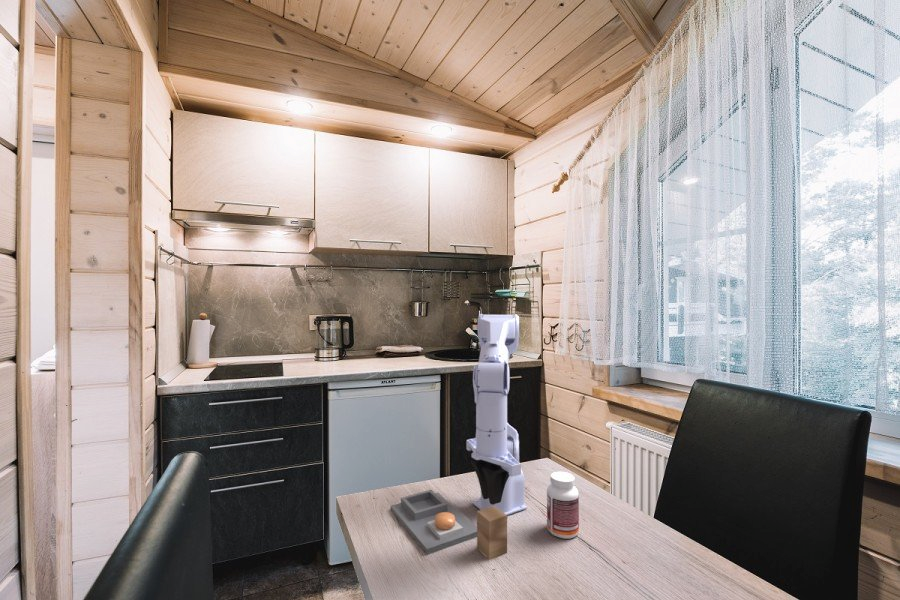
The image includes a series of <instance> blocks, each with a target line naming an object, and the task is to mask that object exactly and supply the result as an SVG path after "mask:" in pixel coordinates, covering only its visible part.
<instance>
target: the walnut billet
mask: <svg viewBox="0 0 900 600" xmlns="http://www.w3.org/2000/svg"><path fill="white" fill-rule="evenodd" d="M476 526H477V537H476V548H477V550H478V551H479V552H480V553H481V554H482V555H483V556H485V558H487V559H488V560H489V561H491V560H493V559H496V558H498V557H500V556H503V555H506V554H508V515H506V514H505V513H503V512H502V511H501V510H499V509H498V508H497V507H495V506H492V507H489V508H485V509H482V510H480V509H479V510H477V511H476Z"/></svg>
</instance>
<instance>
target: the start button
mask: <svg viewBox="0 0 900 600" xmlns="http://www.w3.org/2000/svg"><path fill="white" fill-rule="evenodd" d="M454 525H455V516H454V515H453V514H452V513H448V512H442V513H439V514H437V515H436V516H435V526H436V527H438V528H440V529H450V528H452V527H453V526H454Z"/></svg>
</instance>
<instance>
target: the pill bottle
mask: <svg viewBox="0 0 900 600" xmlns="http://www.w3.org/2000/svg"><path fill="white" fill-rule="evenodd" d="M575 479H576V477H575V476H574V475H573V474H572V473H569V472H566V471H554V472H552V473H551V474H550V484H549V485H548V486H547V488H546V518H547V519H546V527H547V531H548V532H549V533H550V534H551V535H552V536H555V537H557V538H559V539H565V540H568V539H573V538H575V537H577V536H578V534H579V533H580V523H579V521H580V519H579V517H580V514H579V511H580V509H579V508H580V507H579V506H580V503H579V502H580V501H579V498H580V497H579V495H580V494H579V490H578V488H577V487H576V486H575V484H576V482H575Z"/></svg>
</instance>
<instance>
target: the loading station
mask: <svg viewBox="0 0 900 600" xmlns="http://www.w3.org/2000/svg"><path fill="white" fill-rule="evenodd" d="M389 508H390V512H391V513H392V514H393V515H394V516H395V517H396V519H397V520H398V521H399V522H400V524H401V525H402V526H403V527H404V528H405V530H406V531H407V532H408V533H409V535H410V536H411V537H412V538H413V539H414V540H415V542H416V543H417V544H418V545H419V547H420V548H421V550H423V551H424V553H425V554H426V555H430V554H432V553H436V552H438V551H441V550H443V549H446V548H449V547H452V546H455V545H459V544H462V543H463V542H466V541H469V540H472V539H474V538H477V524H475V523H474V522H473V521H472V520H471V519H469V518H468V517H467V516H466V515H464V514H463V512H461V511H460V510H459V509H458V508H457V507H456V506H454V505H453V504H452V503H451V502H450V501H448V499H446V498H445V497H444V496H443V495H442V494H441V493H439V492H436V493H435V492H434V491H433V489H429V490H426V491H421V492H417V493H414V494H411V495H407V496H404V497H403V496H402V497H400V502H398V503H396V504H393V505H392V504H391V505H390V507H389ZM442 512H448V513H452V514H453V515H454V516H455V525H454V526H453V527H452V528H450V529H440V528H438V527H436V526H435V516H436V515H437V514H439V513H442Z"/></svg>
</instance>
